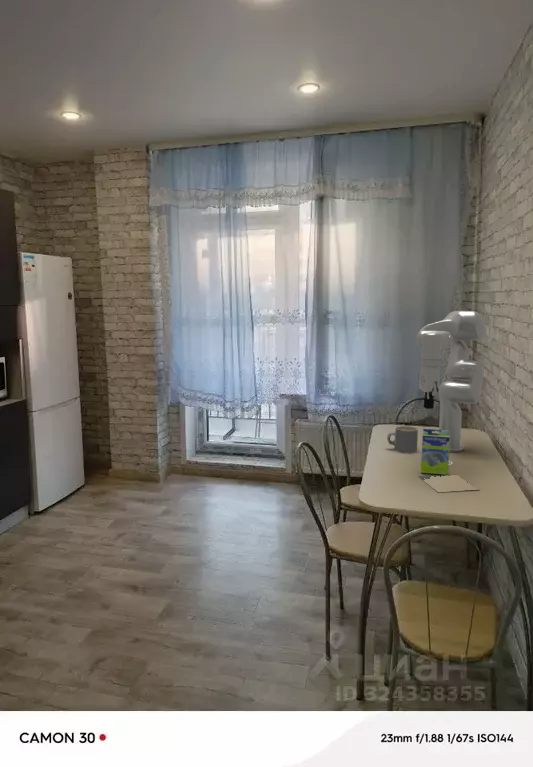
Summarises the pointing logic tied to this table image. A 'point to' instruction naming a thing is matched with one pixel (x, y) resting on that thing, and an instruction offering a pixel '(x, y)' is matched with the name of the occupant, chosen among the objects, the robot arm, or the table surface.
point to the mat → (430, 476)
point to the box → (435, 451)
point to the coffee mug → (404, 439)
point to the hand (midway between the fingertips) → (428, 407)
